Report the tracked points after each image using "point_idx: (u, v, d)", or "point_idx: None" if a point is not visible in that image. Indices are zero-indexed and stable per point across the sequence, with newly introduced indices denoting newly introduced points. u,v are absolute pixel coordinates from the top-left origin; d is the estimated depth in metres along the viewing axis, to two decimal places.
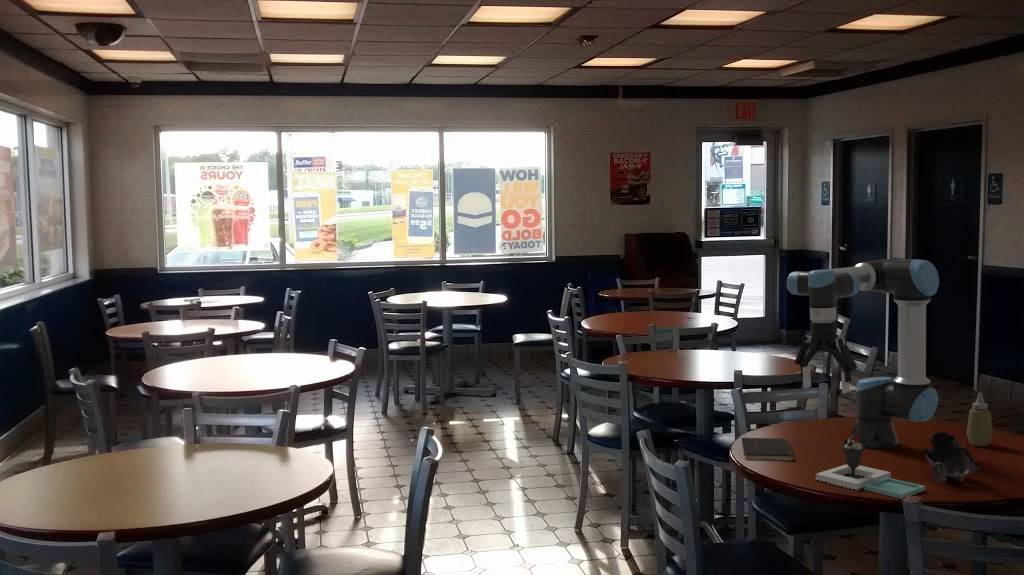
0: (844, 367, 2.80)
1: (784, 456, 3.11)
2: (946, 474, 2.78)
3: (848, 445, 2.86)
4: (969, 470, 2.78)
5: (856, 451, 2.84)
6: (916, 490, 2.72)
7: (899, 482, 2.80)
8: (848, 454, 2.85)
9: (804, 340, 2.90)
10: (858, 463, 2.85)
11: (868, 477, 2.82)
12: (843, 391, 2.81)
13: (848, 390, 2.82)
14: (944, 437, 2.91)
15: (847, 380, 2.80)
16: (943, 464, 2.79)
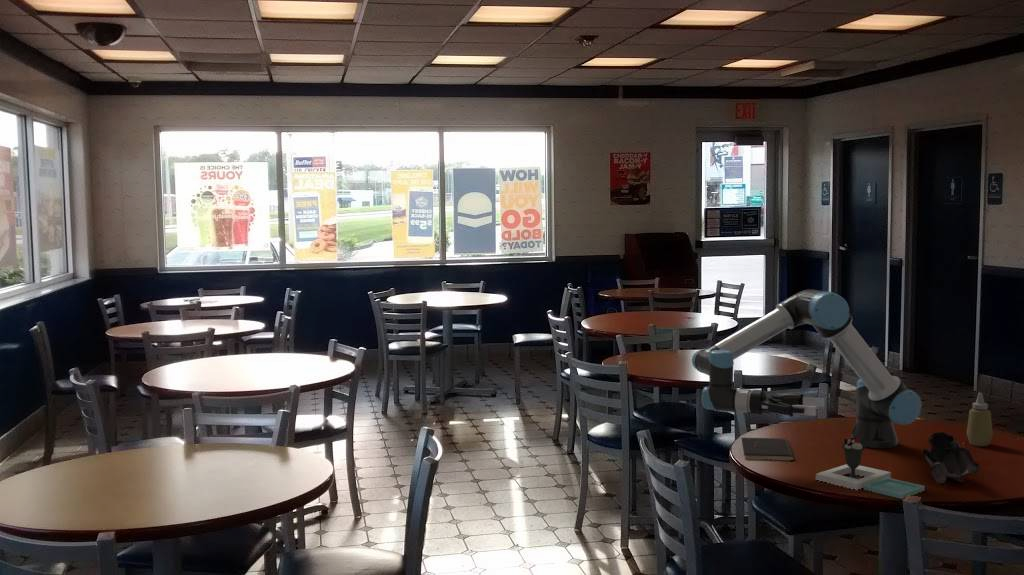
0: None
1: (784, 456, 3.11)
2: (946, 474, 2.77)
3: (848, 445, 2.86)
4: (968, 470, 2.78)
5: (856, 451, 2.84)
6: (916, 490, 2.72)
7: (899, 482, 2.80)
8: (848, 454, 2.85)
9: None
10: (858, 463, 2.85)
11: (868, 477, 2.82)
12: (814, 415, 2.84)
13: (814, 408, 2.84)
14: (943, 437, 2.91)
15: None
16: (943, 464, 2.79)
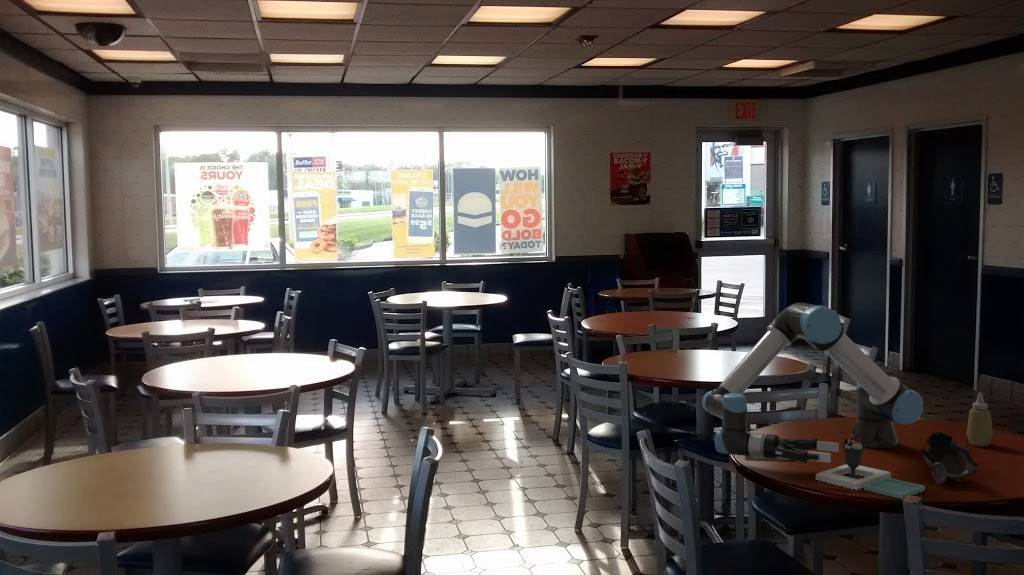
0: None
1: None
2: (945, 474, 2.77)
3: (848, 445, 2.86)
4: (968, 470, 2.78)
5: (856, 451, 2.84)
6: (916, 490, 2.72)
7: (899, 482, 2.80)
8: (848, 454, 2.85)
9: None
10: (858, 463, 2.85)
11: (868, 477, 2.82)
12: None
13: (828, 455, 2.83)
14: (941, 437, 2.91)
15: None
16: (942, 464, 2.79)
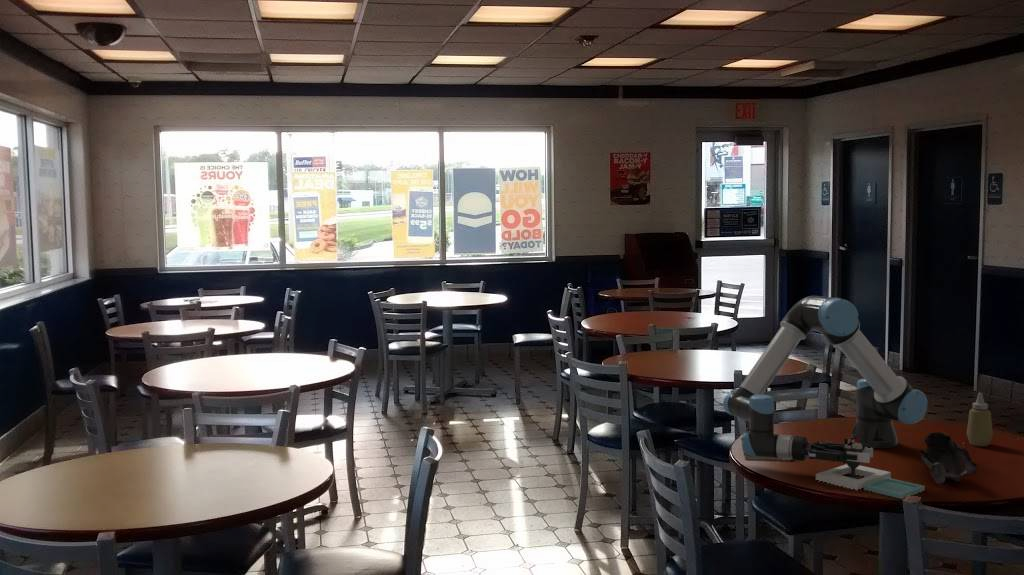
0: None
1: None
2: (945, 475, 2.77)
3: (848, 445, 2.86)
4: (967, 470, 2.78)
5: (856, 451, 2.84)
6: (916, 490, 2.72)
7: (899, 482, 2.80)
8: None
9: None
10: (858, 463, 2.85)
11: (868, 477, 2.82)
12: None
13: (867, 455, 2.81)
14: (939, 437, 2.91)
15: None
16: (941, 465, 2.79)
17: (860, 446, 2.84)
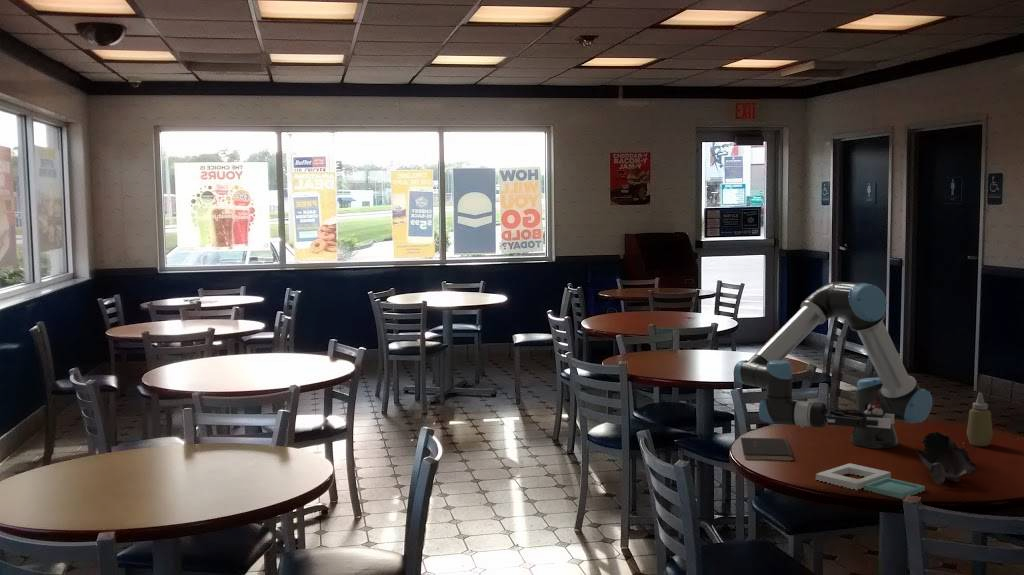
0: None
1: (784, 456, 3.11)
2: (944, 475, 2.77)
3: (868, 410, 2.77)
4: (966, 470, 2.78)
5: (876, 416, 2.76)
6: (916, 490, 2.72)
7: (899, 482, 2.80)
8: None
9: None
10: (879, 429, 2.77)
11: (868, 477, 2.82)
12: (888, 428, 2.73)
13: (888, 421, 2.73)
14: (937, 437, 2.91)
15: None
16: (941, 465, 2.78)
17: (881, 412, 2.76)
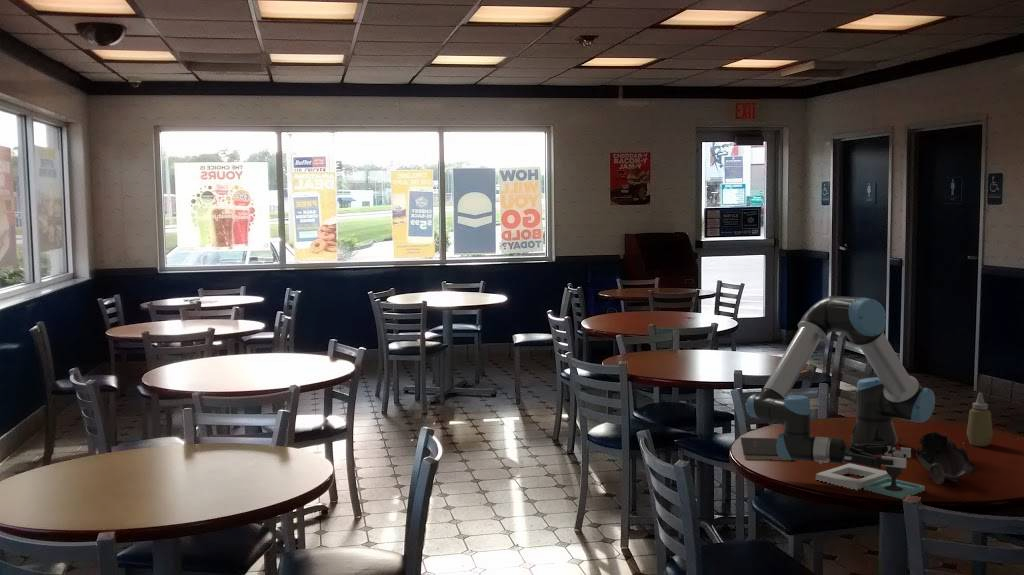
0: None
1: None
2: (944, 475, 2.77)
3: (889, 453, 2.73)
4: (965, 470, 2.78)
5: None
6: (916, 490, 2.72)
7: (899, 482, 2.80)
8: None
9: None
10: (899, 471, 2.73)
11: (868, 477, 2.82)
12: (903, 467, 2.68)
13: (904, 460, 2.67)
14: (934, 437, 2.91)
15: None
16: (940, 465, 2.78)
17: (901, 454, 2.72)
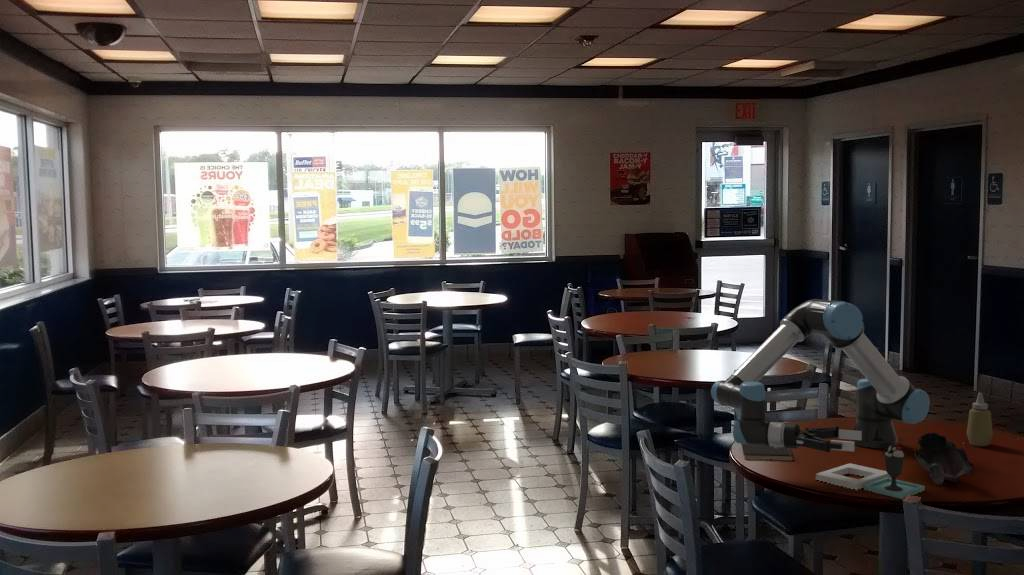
0: None
1: (783, 456, 3.11)
2: (943, 475, 2.76)
3: (889, 453, 2.73)
4: (964, 470, 2.78)
5: (897, 459, 2.72)
6: (916, 490, 2.72)
7: (899, 482, 2.80)
8: (889, 462, 2.73)
9: None
10: (899, 472, 2.73)
11: (868, 477, 2.82)
12: (852, 451, 2.73)
13: (852, 444, 2.73)
14: (932, 438, 2.91)
15: None
16: (939, 465, 2.78)
17: (901, 454, 2.72)
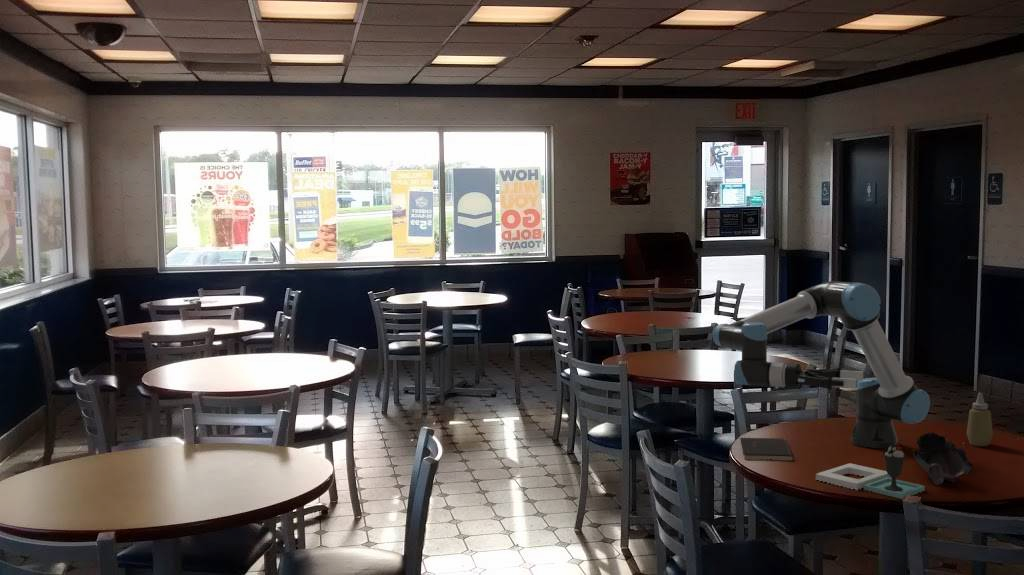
0: None
1: (783, 456, 3.11)
2: (943, 475, 2.76)
3: (889, 453, 2.73)
4: (963, 470, 2.78)
5: (897, 459, 2.72)
6: (916, 490, 2.72)
7: (899, 482, 2.80)
8: (889, 462, 2.73)
9: None
10: (899, 472, 2.73)
11: (868, 477, 2.82)
12: None
13: (853, 381, 2.72)
14: (931, 438, 2.91)
15: (841, 385, 2.73)
16: (939, 465, 2.78)
17: (902, 454, 2.72)
